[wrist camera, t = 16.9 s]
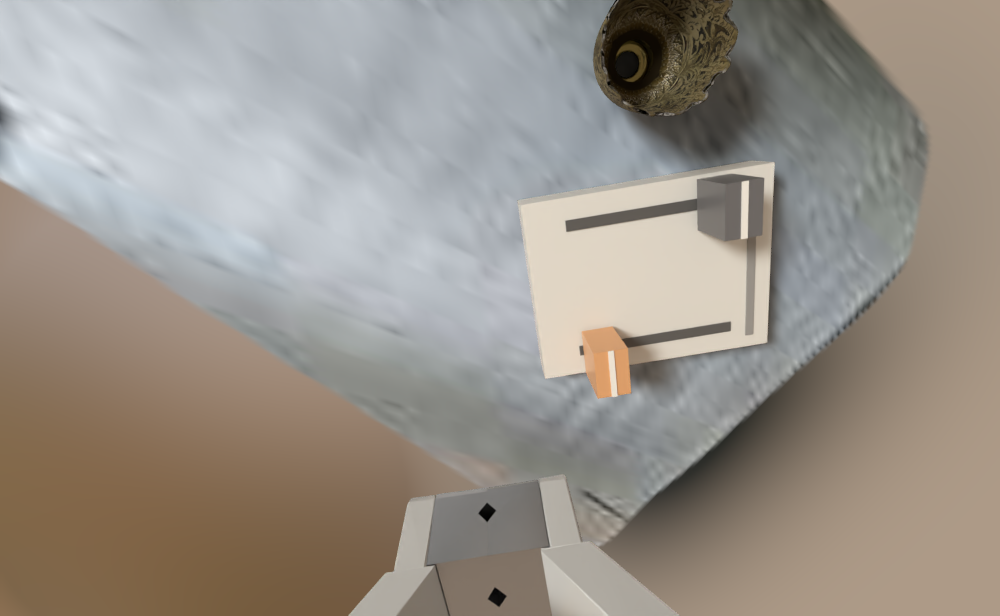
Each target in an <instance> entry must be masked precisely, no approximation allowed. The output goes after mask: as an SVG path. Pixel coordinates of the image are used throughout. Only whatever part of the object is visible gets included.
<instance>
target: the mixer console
mask: <svg viewBox="0 0 1000 616" xmlns="http://www.w3.org/2000/svg"><path fill="white" fill-rule="evenodd" d="M774 163H775V162H763V161H746V162H740V163H734V164H728V165H722V166H716V167H710V168H704V169H699V170H693V171H687V172H681V173H675V174H669V175H663V176H657V177H651V178H645V179H639V180H633V181H628V182H622V183H616V184H610V185H604V186H598V187H592V188H586V189H580V190H574V191H568V192H562V193H557V194H551V195H545V196H539V197H533V198H527V199H521V200H517V201H518V208H519V215H520V222H521V229H522V236H523V243H524V250H525V256H526V263H527V270H528V277H529V284H530V291H531V298H532V305H533V312H534V318H535V325H536V332H537V339H538V346H539V353H540V360H541V365H542V368H543V372H544V375H545V379H547V378H553V377H559V376H565V375H571V374H578V373H584V372H586V368H585V359H584V350H583V340H582V331H587V330H593V329H599V328H605V327H611V326H612V327H613V328H614V329H615V331H616V332H617V334H618V335H619V336H620V338H621V339H622V341H623V342H624V343H625V345H626V346H627V348H628V357H629V365H633V364H639V363H645V362H651V361H658V360H664V359H670V358H676V357H682V356H688V355H695V354H701V353H707V352H713V351H719V350H725V349H732V348H738V347H744V346H750V345H756V344H762V343H767V333H768V309H769V284H770V260H771V236H772V211H773V187H774ZM731 173H732V174H739V175H747V176H755V177H762V178H764V203H763V233H762V235H761V236H755V237H749V238H746V239H737V240H731V241H723V240H720V239H718V238H715V237H713V236H710V235H708V234H706V233H703V232H701V231H698V224H697V179H701V178H707V177H713V176H719V175H725V174H731Z"/></svg>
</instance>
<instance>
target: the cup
mask: <svg viewBox="0 0 1000 616" xmlns="http://www.w3.org/2000/svg"><path fill="white" fill-rule="evenodd" d="M732 3H733V1H732V0H616V1H615V2H614V4H613V6H612V7H611V9H610V10H609V13H608V14H607V16H606V18H605V20H604V22H603V24H602V26H601V28H600V31H599V33H598V36H597V39H596V43H595V48H594V57H593V63H594V71H595V76H596V79H597V82H598V84H599V86H600V88H601V90H602V91H603V93H604V94H605V95H606V96H607V97H608V98H609V99H610V100H611V101H612V102H613V103H615V104H616V105H618V106H620V107H621V108H624V109H626V110H629V111H632V112H637V113H641V114H645V115H648V116H653V117H654V116H674V115H679V114H682V113H684V112H686V111H687V110H688V109H689V108H691V107H692V106H694V105H698V104H700V103H702V102H704V101H705V100H706V99H707V98H708V92H707V90H708V89H709V88H710V87H711V86H712V85H713V84H714V80H715V79H716V77H717V76H718V75H720V74H722V73H725V72H726V71H727V69H728V68H729V66H730V64H731V60H730V58H729V57H728V56H729V54H730V52H731V51H732V50H733V48H734V46H735V43H736V40H737V35H738V29H737V27H736V25H735V24H734V22H733V21H732V20H731V19H730V18H729V16H728V12H729V11H730V10H731V7H732ZM729 14H730V12H729ZM624 52H632V53H634V54H635V55H636V56H637V58H638V62H639V65H638V69H637V71H636V73H635V74H634V75H632V76H631V77H627V78H625V77H622V76H620V75H619V74H618V72H617V70H616V60H617V58H618V57H619V56H620V55H621V54H622V53H624Z"/></svg>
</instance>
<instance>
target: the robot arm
mask: <svg viewBox="0 0 1000 616" xmlns="http://www.w3.org/2000/svg"><path fill="white" fill-rule="evenodd" d="M348 616H680V615H678V614H677V613H676V612H675V611H674V610H672V609H671V608H670V607H669V606H668V605H667V604H665V603H664V602H663V601H662V600H661V599H659V598H658V597H657V596H656V595H655V594H653V593H652V592H651V591H650V590H649V589H647V588H646V587H645V586H644V585H643V584H641V583H640V582H639V581H638V580H637V579H635V578H634V577H633V576H632V575H631V574H630V573H628V572H627V571H626V570H625V569H623V568H622V567H621V566H620V565H618V563H616V562H615V561H614V560H613V559H612V558H610V557H609V556H608V555H607V554H606V553H604V552H603V551H602V550H601V549H600V548H599V547H597V546H596V545H595V544H594V543H593V542H591V541H589V542H583V541H582V537H581V534H580V530H579V526H578V522H577V518H576V514H575V510H574V506H573V502H572V498H571V494H570V491H569V487H568V483H567V479H566V477H565V476H564V474H563V475H557V476H552V477H546V478H540V479H539V483H538V480H532V481H526V482H520V483H514V484H508V485H502V486H496V487H489V488H482V489H474V490H467V491H459V492H452V493H444V494H438V495H432V496H425V497H418V498H411V500H410V501H409V503H408V505H407V509H406V514H405V519H404V524H403V529H402V534H401V539H400V544H399V548H398V554H397V559H396V563H395V569H394V572H389V573H385V574H384V575H383V577H382V578H381V579H380V580H379V581H378V582H377V583H376V585H375V586H374V587H373V588H372V589H371V590H370V591H369V593H368V594H367V595H366V596H365V597H364V598H363V600H362V601H361V602H360V603H359V604H358V605H357V606H356V607H355V609H354V610H353V611H352V612H351V613H350V614H349V615H348Z"/></svg>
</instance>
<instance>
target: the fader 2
mask: <svg viewBox="0 0 1000 616" xmlns="http://www.w3.org/2000/svg"><path fill="white" fill-rule="evenodd" d="M763 203H764V178H762V177H755V176H747V175H739V174H732V173H731V174H725V175H719V176H713V177H707V178H701V179H697V224H698V231H701V232H703V233H706V234H708V235H710V236H713V237H715V238H718V239H720V240H723V241H731V240H737V239H746V238H749V237H755V236H761V235H762V233H763Z"/></svg>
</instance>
